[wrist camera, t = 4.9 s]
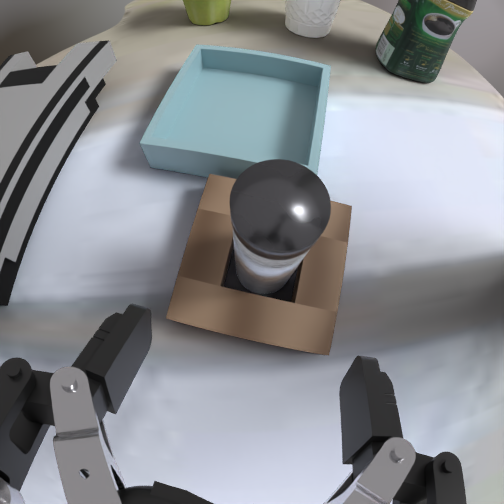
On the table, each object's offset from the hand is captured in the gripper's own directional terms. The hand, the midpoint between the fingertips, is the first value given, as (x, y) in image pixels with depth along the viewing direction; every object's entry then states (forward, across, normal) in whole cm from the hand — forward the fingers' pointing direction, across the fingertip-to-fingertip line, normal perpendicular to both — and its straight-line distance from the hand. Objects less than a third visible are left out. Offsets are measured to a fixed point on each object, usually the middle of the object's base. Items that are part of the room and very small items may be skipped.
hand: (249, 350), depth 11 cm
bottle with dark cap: (+14, 0, +4) cm, 14 cm away
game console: (+17, +33, +2) cm, 37 cm away
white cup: (+40, +1, -22) cm, 45 cm away
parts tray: (+24, +5, -6) cm, 25 cm away
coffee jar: (+38, -14, -20) cm, 45 cm away
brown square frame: (+14, 0, +4) cm, 14 cm away
